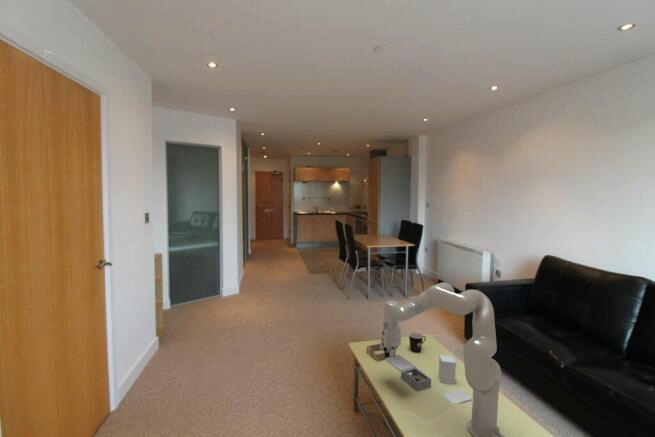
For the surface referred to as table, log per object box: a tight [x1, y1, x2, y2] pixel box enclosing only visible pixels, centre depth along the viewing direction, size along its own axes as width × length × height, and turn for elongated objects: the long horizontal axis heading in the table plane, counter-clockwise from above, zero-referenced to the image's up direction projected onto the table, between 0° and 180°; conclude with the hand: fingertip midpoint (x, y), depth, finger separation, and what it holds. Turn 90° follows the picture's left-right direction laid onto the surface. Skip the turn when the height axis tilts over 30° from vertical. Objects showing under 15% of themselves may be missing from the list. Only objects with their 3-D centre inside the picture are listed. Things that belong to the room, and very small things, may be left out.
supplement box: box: [438, 354, 457, 385], centre depth 168 cm, size 7×7×13 cm
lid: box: [384, 348, 417, 374], centre depth 160 cm, size 17×9×4 cm, turn 25°
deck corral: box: [366, 342, 386, 362], centre depth 196 cm, size 12×12×4 cm
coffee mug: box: [408, 332, 427, 354], centre depth 202 cm, size 12×9×10 cm
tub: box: [400, 367, 432, 392], centre depth 166 cm, size 13×9×5 cm
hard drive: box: [440, 389, 473, 405], centre depth 154 cm, size 2×8×12 cm
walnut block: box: [414, 375, 426, 382], centre depth 163 cm, size 4×4×4 cm
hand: (389, 357), depth 166 cm, fingers closed on lid, 3 cm apart
